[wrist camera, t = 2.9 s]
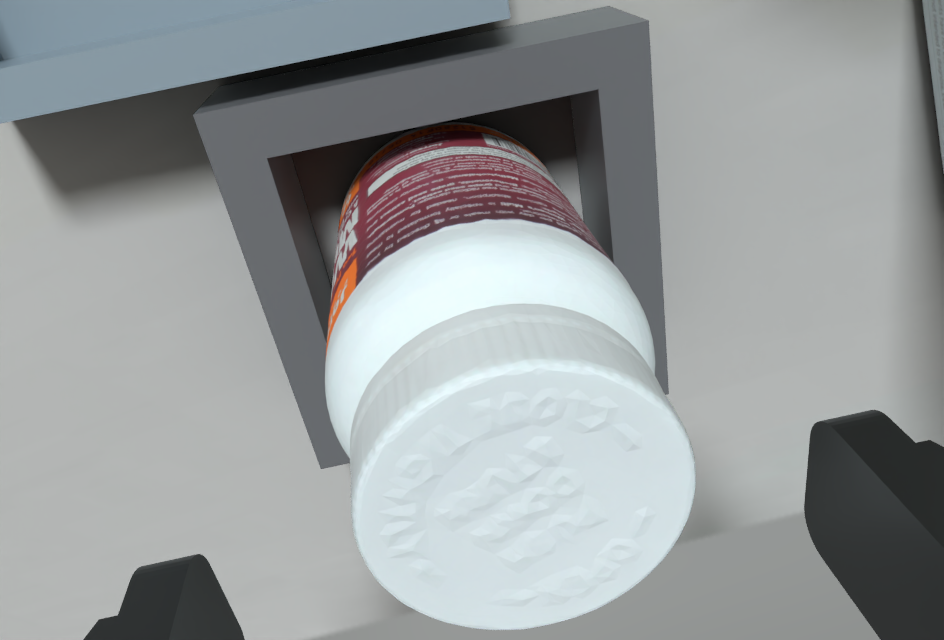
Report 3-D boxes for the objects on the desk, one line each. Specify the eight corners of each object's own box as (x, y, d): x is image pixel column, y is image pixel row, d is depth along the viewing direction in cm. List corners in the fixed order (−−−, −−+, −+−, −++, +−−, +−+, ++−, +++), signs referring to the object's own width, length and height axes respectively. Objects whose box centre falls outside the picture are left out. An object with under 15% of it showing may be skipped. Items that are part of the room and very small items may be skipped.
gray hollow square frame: (609, 6, 18) (648, 20, 16) (635, 339, 23) (668, 394, 20) (219, 86, 18) (192, 115, 15) (327, 406, 23) (321, 469, 20)
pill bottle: (305, 158, 19) (232, 411, 9) (532, 85, 19) (705, 265, 9) (383, 350, 22) (392, 696, 12) (580, 289, 22) (750, 591, 12)
